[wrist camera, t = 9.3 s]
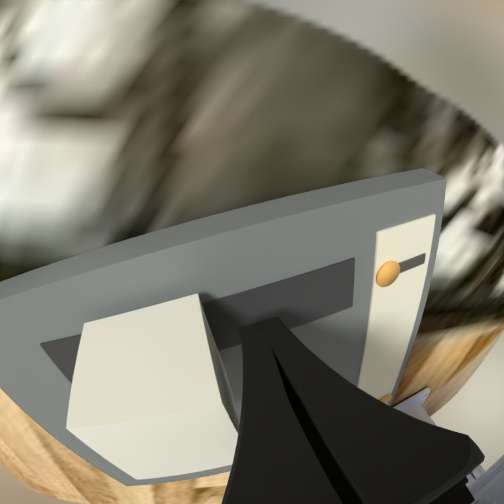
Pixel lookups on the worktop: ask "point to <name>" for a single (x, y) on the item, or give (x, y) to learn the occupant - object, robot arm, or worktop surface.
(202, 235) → the switch unit
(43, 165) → the worktop surface
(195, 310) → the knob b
